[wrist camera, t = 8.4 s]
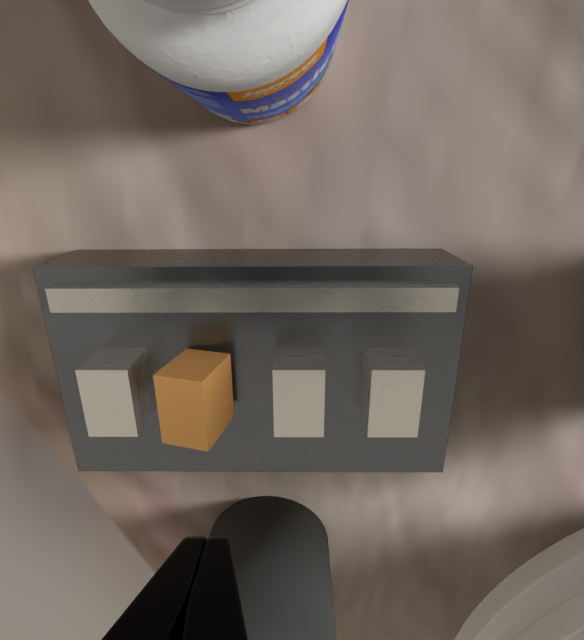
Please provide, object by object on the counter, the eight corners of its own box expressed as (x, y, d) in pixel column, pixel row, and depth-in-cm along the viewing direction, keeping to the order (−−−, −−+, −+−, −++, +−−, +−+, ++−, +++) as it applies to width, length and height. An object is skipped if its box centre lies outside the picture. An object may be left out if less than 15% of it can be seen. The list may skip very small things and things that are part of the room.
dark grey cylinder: (352, 543, 21) (374, 692, 15) (270, 601, 23) (261, 758, 17) (266, 475, 20) (253, 610, 14) (186, 542, 21) (142, 690, 15)
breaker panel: (441, 248, 16) (497, 279, 11) (420, 426, 19) (459, 506, 14) (79, 249, 16) (-4, 280, 12) (111, 425, 19) (54, 504, 14)
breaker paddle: (230, 353, 14) (202, 381, 12) (234, 416, 14) (208, 451, 13) (186, 348, 14) (153, 375, 12) (192, 409, 15) (162, 443, 13)
